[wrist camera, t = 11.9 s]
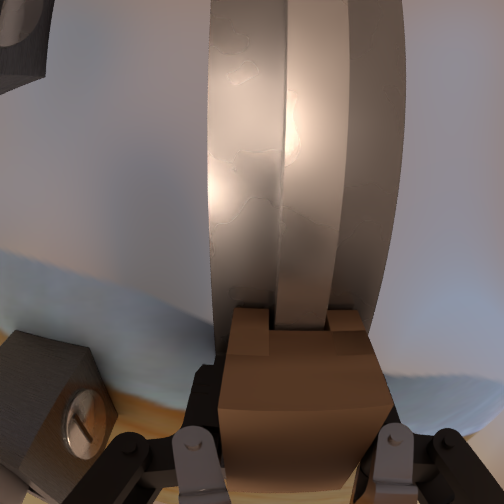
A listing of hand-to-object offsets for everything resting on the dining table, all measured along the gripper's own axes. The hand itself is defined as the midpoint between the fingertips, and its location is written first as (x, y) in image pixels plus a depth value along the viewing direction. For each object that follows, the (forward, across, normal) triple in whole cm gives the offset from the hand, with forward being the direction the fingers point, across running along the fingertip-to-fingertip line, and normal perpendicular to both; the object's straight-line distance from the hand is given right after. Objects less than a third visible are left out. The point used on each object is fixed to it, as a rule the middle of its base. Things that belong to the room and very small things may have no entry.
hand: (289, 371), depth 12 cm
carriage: (0, 0, 0) cm, 0 cm away
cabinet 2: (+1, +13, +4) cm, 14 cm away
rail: (+1, 0, -6) cm, 6 cm away
